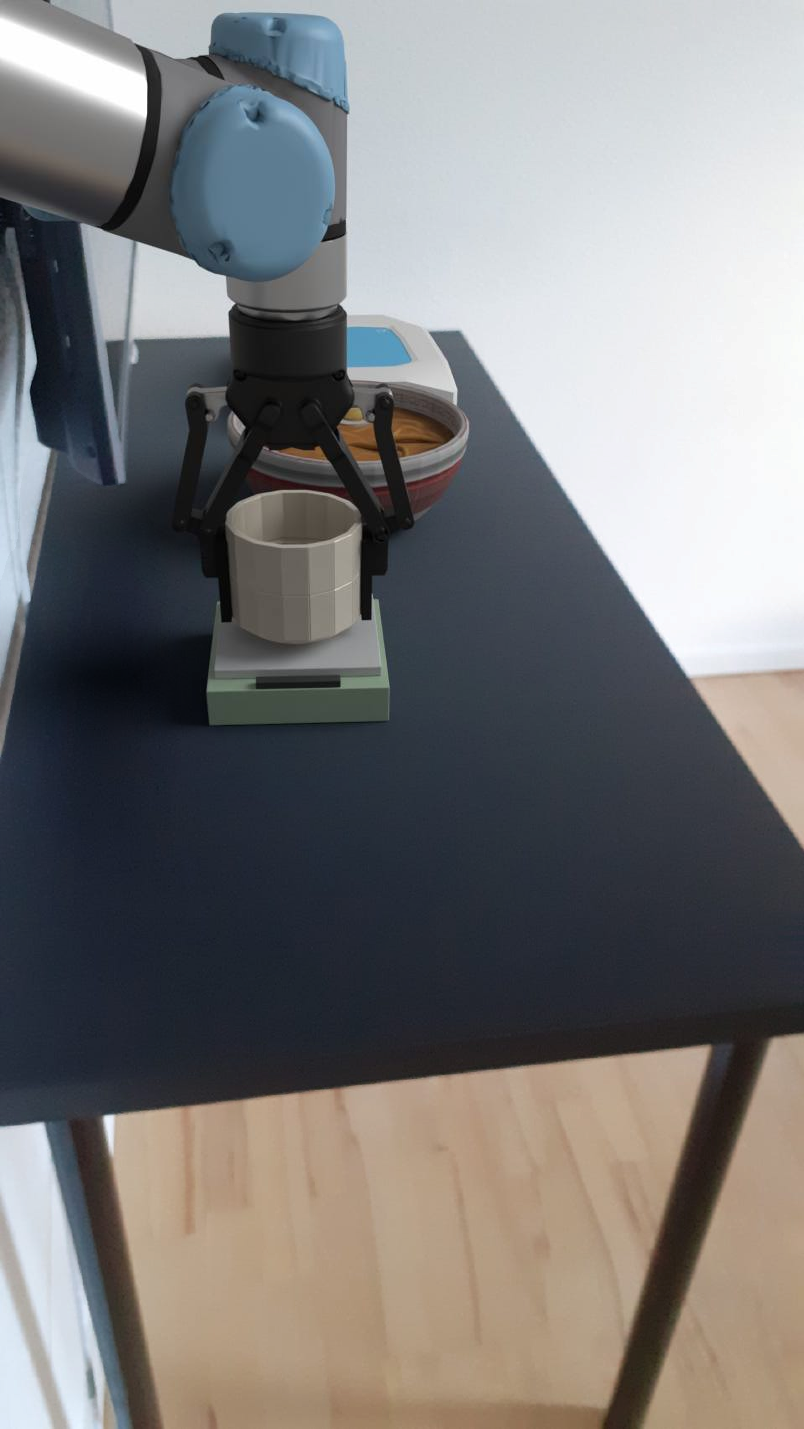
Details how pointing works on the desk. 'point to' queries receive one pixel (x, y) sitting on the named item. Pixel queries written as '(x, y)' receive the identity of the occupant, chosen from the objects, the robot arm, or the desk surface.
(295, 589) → the faceted beige cup
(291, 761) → the desk surface
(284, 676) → the scale
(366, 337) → the document scanner
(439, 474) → the bowl
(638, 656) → the desk surface
